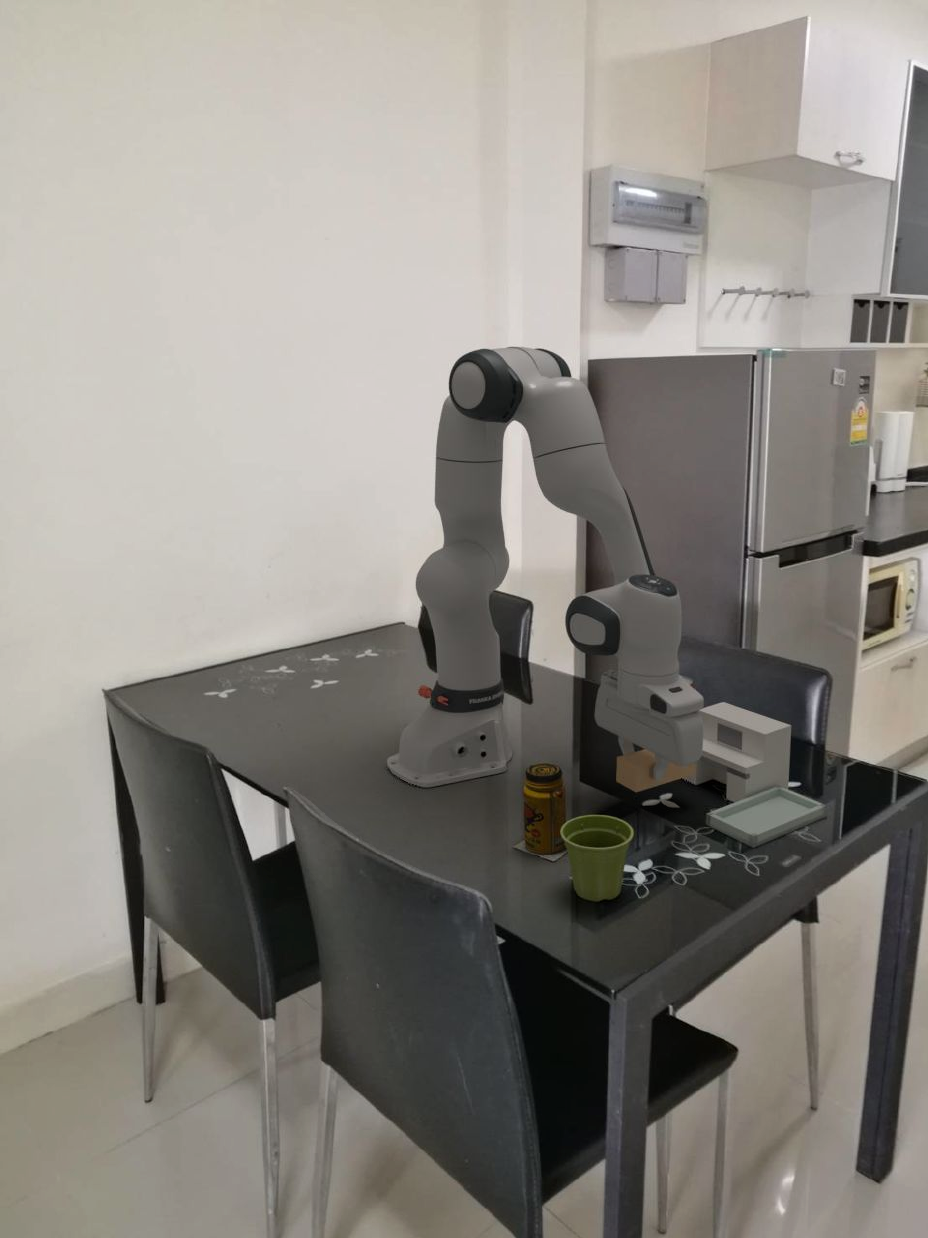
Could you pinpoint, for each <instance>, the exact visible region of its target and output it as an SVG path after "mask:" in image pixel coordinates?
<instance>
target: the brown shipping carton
mask: <svg viewBox="0 0 928 1238" xmlns="http://www.w3.org/2000/svg"><path fill="white" fill-rule="evenodd" d="M656 763H657V761H656V760H655V754H654V753H652V752H650V751H648V750H646V749H644V748H643V749H641V750H637V751H635V752H633V753H630V754H626V755H623V754H622V755H620V756H617V757H616V778H615V779H616V781H615V782H616V783H618V784H620V785H622V786H624V787H626V788H627V789H629V790H631V791H633V792H635V793H638V792H642V791H644V790H648V789H651V788H654V787H658V786H662V785H665V784H667V783H671V782H673V781H677V780H680V779H681V778H684V777H687V776H690V775H694V774H695V768H696V763H694V764H691V765H687V766H684V767H680V766H678V765H676V764H674V763H672V762H670V763H669V764H668V766H667V767H666V768H665V777H664V779H663V780H660V781H656V780H654V779H652V778H650V777H649V774H650V772H649V769H650V767H655V765H656ZM681 780H682V779H681Z"/></svg>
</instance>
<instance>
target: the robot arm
mask: <svg viewBox="0 0 928 1238" xmlns="http://www.w3.org/2000/svg"><path fill="white" fill-rule="evenodd" d="M448 392H449V395H448V396H447V397H446V398H445V399H444V401H443V404H442V409H441V412H440V417H439V422H438V429H437V435H436V447H435V471H434V472H435V473H434V474H435V475H434V479H435V480H434V506H435V508H436V509H437V511H438V514H439V516H440V520H441V521H440V522H441V526H442V531H443V546H442V547H441V548H440V549H437V550H436V551H434V552H431V554H430V555H429V556H428V557H427V558H426V560H425V561H424V562H423V564H422V565H421V566H420V568H419V570H418V572H417V575H416V577H415V591H416V594H417V597H418V599H419V601H420V602H421V604H422V605H423V606H425V608H426V610H427V614H428V617H429V621H430V624H431V628H432V631H433V636H434V642H435V656H436V657H435V658H436V672H437V679H436V681H435V684H434V686H433V689H432V688H431V687H428V685H425V684H423V685H420V686H419V687H418V689H417V690H418V691H417V694H418V695H419V697H422V698H423V699H429V704H428V705H427V706H426V707H425V708H424V709H423V710H422V711H421V712H420V714H418V715H417V716H416V717H415V719H413V720H412V721H411V723H409V724H408V725H407V726H406V727H405V728H404V729H403V731H402V732H401V734H400V739H399V747H398V753H396V754H393V755H391V756H389V757H387V759H386V768H387V767H388V768H389V769H390V770H391V771H392V772H393V773H394V774H395V775H397V776H398V777H400V778H401V779H403V780H404V781H406V782H408V783H407V784H409V783H411V784H410V785H412V784H414V785H413V786H415V785H417V786H416V787H419V786H420V787H419V788H427V789H428V788H433V787H438V786H442V785H448V784H452V783H458V782H462V781H467V780H472V779H476V778H481V777H487V776H491V775H496V774H497V775H498V774H501V773H505V772H506V771H507V767H508V766H507V763H509V761H510V760H511V759H512V758H513V751H512V748H511V746H510V745H511V744H510V742H509V738H508V734H507V729H506V723H505V717H504V709H503V705H504V699H505V689H504V679H503V678H502V677H501V675H502V674H501V647H500V643H501V642H500V635H499V633H498V632H497V631H496V629H495V627H494V626H495V625H494V624H493V620H492V615H491V612H490V605H489V601H490V595H491V594H492V593H493V592H494V591H495V590H497V589H498V588H499V587H500V586H501V585H502V583H503V581H504V580H505V578H506V575H507V573H508V571H509V568H510V554H509V551H508V549H507V547H506V541H505V539H506V538H505V531H504V522H503V516H502V485H503V484H502V483H503V467H504V466H503V465H504V463H503V461H504V460H503V459H504V439H505V433H506V430H507V428H508V427H509V425H510V424H511V423H512V422H514V421H516V422H518V423H519V424H520V425H521V426H523V427H524V429H525V431H526V433H527V435H528V436H527V437H528V439H529V444H530V451H531V455H532V461H533V465H534V471H535V476H536V480H537V484H538V486H539V488H540V491H541V493H542V495H543V497H544V498H545V499H546V500H547V501H548V502H549V503H550V504H552V505H553V506H555V507H556V508H558V509H559V510H562V511H563V512H565V513H569V514H571V515H574V516H577V517H580V518H582V519H584V520H586V521H588V522H589V523H590V524H592V525H593V526H594V527H595V528H596V530H597V531H598V532H599V534H600V536H601V538H602V542H603V545H604V548H605V551H606V554H607V557H608V561H609V563H610V566H611V569H612V573H613V576H614V585H613V586H609V587H606V588H600V589H596V590H592V591H589V592H586V593H582V594H581V595H579V596H576V597H575V598H574V599H572V600H571V601H570V603H569V604H568V607H567V609H566V613H565V620H564V621H565V622H564V623H565V630H566V635H567V637H568V638H569V640H570V642H571V643H572V645H573V646H574V647H575V648H576V649H577V650H579V651H580V652H581V653H582V654H585V655H592V656H600V657H601V656H603V657H604V656H614V657H615V658H617V660H618V666H617V671H615V670H612V669H608V670H607V671H605V672H603V674H601V676H600V685H599V687H598V690H597V694H596V700H595V707H594V708H595V709H594V721H595V722H596V725H597V726H598V727H600V728H601V729H605V730H606V731H608V732H610V733H612V734H614V735H616V736H617V738H618V739H617V741H618V745H619V747H620V750H621V753H622V756H623V755H626V754H630V753H633V752H636V751H635V747H634V745H636V746H638V747H640V748H641V749H643V750H644V749H646V750H648V751H650V752H652V753H654V754H655V760H656V761H657V763H656V765H655V767H650V769H649V772H650V774H649V777H650V778H652V779H654V780H656V781H660V780H663V779H664V777H665V768H666V767H667V766H668V764H669V763H670V762H672V763H674V764H676V765H678V766H680V767H684V766H687V765H691V764H694V763H696V762H697V761H698V760H699V759H700V758H701V755H702V748H703V721H702V718H701V715H700V714H699V713H698V710H701V709H703V708H704V705H705V699H704V696H703V695H702V694H701V693H700V692H699V691H697V690H695V689H696V688H695V689H694V688H693V687H691V686H690V685H689V684H688V683H687V682H686V681H685V679H684V678H683V677H682V676H683V675H680V661H679V658H678V653H679V652H678V650H679V647H680V644H681V641H682V629H683V628H682V627H683V623H682V622H683V619H682V618H683V617H682V615H683V610H682V601H681V595H680V592H679V590H678V589H679V588H678V587H677V586H676V585H675V583H673V582H672V581H670V580H669V579H667V578H664V577H661V576H658V575H656V574H655V571H654V570H655V569H654V568H653V565H652V563H651V559H650V556H649V553H648V552H649V551H648V549H647V546H646V543H645V540H644V537H643V534H642V530H641V527H640V524H639V521H638V518H637V514H636V511H635V508H634V506H633V503H632V501H631V498H630V496H629V494H628V492H627V490H626V489H625V487H624V486H623V485H622V484H621V482H620V481H619V480H618V478H617V475H616V473H615V471H614V469H613V466H612V463H611V461H610V457H609V453H608V449H607V445H606V441H605V437H604V432H603V428H602V424H601V421H600V417H599V414H598V411H597V408H596V406H595V403H594V400H593V397H592V394H591V393H590V390H589V388H588V387H587V386H586V384H585V383H584V382H583V381H581V379H577V378H575V377H572V373H571V370H570V367H569V365H568V363H567V362H566V361H565V359H564V358H563V357H561V356H560V355H558V353H555V352H553V351H550V350H548V349H545V348H532V347H531V348H530V347H525V346H507V347H500V348H498V347H497V348H492V349H490V348H480V349H475V350H472V351H470V352H466V353H465V354H463V355H462V356H460V357H458V358H457V360H456V361H455V363H453V366H452V367H451V370H450V373H449V378H448ZM388 768H387V769H388ZM404 781H403V782H404ZM406 782H405V783H406Z"/></svg>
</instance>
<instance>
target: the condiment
mask: <svg viewBox="0 0 928 1238" xmlns="http://www.w3.org/2000/svg"><path fill="white" fill-rule="evenodd" d="M524 775H525V779H524V783H525V785H524V786H523V788H522V790H523V793H522V797H523V817H524V818H523V824H524V825H523V827H524V828H523V829H524V831H523V833H524V839H523V840H522V841H520V842H521V843H520V842H519V843H520V844H522V845H523V846H521V847H519V846H520V844H519V843H517V844H516V845H514V846H513V848H514V849H517V850H519V851H522V852H524V853H527V854H530V855H533V856H535V855H537V856H536V857H538V855H542V856H540V857H539V858H542V859H547V860H548V861H552V862H555V861H557V860H558V859H560V858H562V856H565V854H568V851H567V848H566V846H565V842H564V840H563V839H562V837H561V833H560V830H561V828H562V826H563V825H564V824H565V823H566V822H567V808H566V805H567V804H566V803H567V801H566V800H567V799H566V796H567V795H566V787H565V785H564V779H563V771H562V768H561V767H560V766H558V765H556V764H554V763H549V762H548V763H547V762H542V763H541V762H540V763H535V764H531V765H530V766H528V767H527V768H526V770H525V774H524ZM522 842H523V843H522ZM524 845H525V846H524ZM544 855H551V856H549V857H548V856H544Z"/></svg>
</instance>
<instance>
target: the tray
mask: <svg viewBox="0 0 928 1238" xmlns="http://www.w3.org/2000/svg"><path fill="white" fill-rule="evenodd" d="M827 809H828V805H826V804H824V803H821V802H820V801H818V800H817V801H816V800H814V799H812V798H809V797H807V796H805V795H803V794H800V793H798V792H795V791H792V790H790V789H789V788H788V789H785V788H783V787H781V786H776V787H774V788H771V789H769V790H766V791H763V792H761V793H758V794H756V795H753V796H751V797H748V798H745V799H743V800H740V801H738V802H732V803H731V804H728V805H725V806H723V807H720V808H717V809H715V810H712V811H710V812H707V813H706V815H705V825H706V826H708V827H710V828H712V829H713V830H716V831H718V832H720V833H722V834H724V835H726V836H728V837H730V838H732V839H734V840H736V841H739V842H741V843H743V844H744V845H746V846H748V847H751V848H753V849H754V848H756V847H758V846H761V845H764V844H766V843H768V842H771V841H773V840H775V839H778V838H779V837H783V836H785V835H786V834H787V835H788V834H789V833H791V832H794V831H797V830H798V829H801V828H803V827H805V826H807V825H810V824H813V823H814V822H818V821H819V820H822V819H824V818H826V817H827V811H828V810H827Z"/></svg>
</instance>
